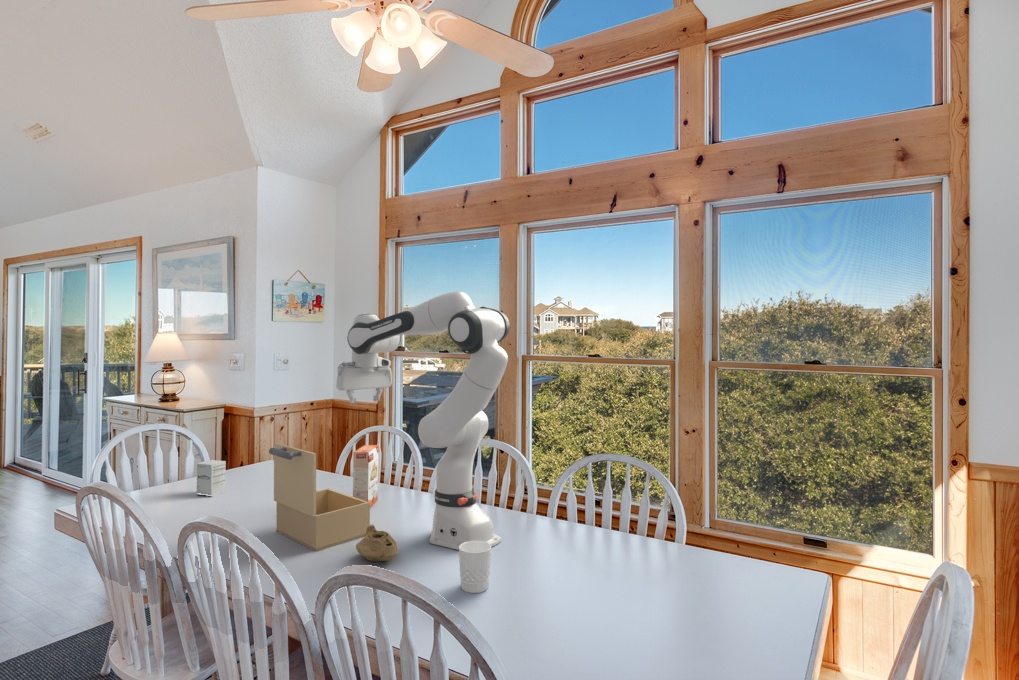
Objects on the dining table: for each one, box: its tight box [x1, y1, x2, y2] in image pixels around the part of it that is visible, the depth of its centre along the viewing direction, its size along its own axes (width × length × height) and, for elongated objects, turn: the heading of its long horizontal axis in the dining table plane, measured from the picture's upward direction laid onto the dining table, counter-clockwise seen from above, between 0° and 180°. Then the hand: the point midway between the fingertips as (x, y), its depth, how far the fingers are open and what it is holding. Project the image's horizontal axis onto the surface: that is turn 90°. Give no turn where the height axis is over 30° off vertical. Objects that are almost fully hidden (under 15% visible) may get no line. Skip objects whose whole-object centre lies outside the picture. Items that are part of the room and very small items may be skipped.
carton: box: [275, 488, 371, 552], centre depth 173 cm, size 24×18×10 cm
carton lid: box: [268, 442, 317, 517], centre depth 164 cm, size 24×18×5 cm
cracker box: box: [352, 444, 380, 508], centre depth 202 cm, size 14×6×21 cm, turn 179°
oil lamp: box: [355, 523, 398, 562], centre depth 153 cm, size 11×15×8 cm
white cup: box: [458, 541, 492, 594], centre depth 136 cm, size 8×8×10 cm
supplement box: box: [196, 459, 227, 495], centre depth 216 cm, size 7×7×13 cm
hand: (364, 402), depth 189 cm, fingers open, 8 cm apart
